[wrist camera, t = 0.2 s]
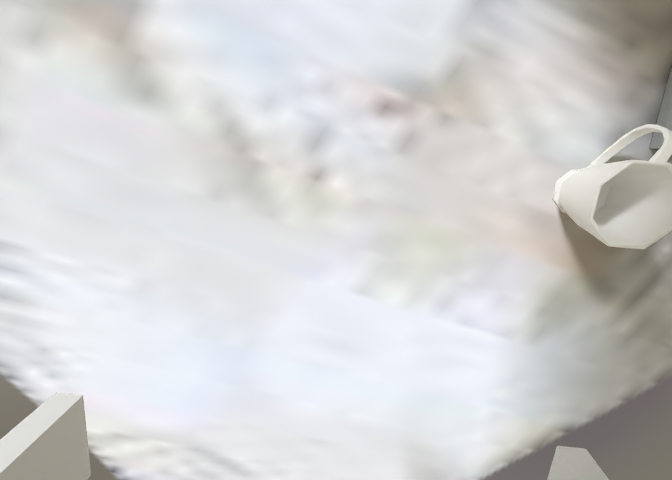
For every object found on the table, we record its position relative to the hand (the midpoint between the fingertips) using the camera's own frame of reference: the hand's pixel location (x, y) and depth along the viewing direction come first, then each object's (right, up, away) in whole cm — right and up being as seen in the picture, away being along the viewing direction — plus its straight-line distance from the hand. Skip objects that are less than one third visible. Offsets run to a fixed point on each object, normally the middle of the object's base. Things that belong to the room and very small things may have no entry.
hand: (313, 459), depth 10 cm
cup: (+24, +12, +25) cm, 37 cm away
